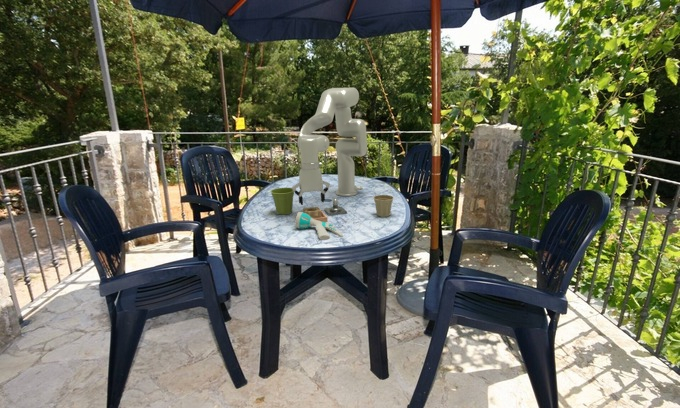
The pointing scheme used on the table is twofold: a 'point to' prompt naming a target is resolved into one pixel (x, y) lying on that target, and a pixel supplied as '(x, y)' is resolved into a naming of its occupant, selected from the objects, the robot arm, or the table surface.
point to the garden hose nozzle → (306, 221)
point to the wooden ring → (312, 212)
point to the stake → (335, 209)
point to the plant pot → (283, 200)
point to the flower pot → (383, 205)
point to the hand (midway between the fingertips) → (312, 203)
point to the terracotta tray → (322, 218)
